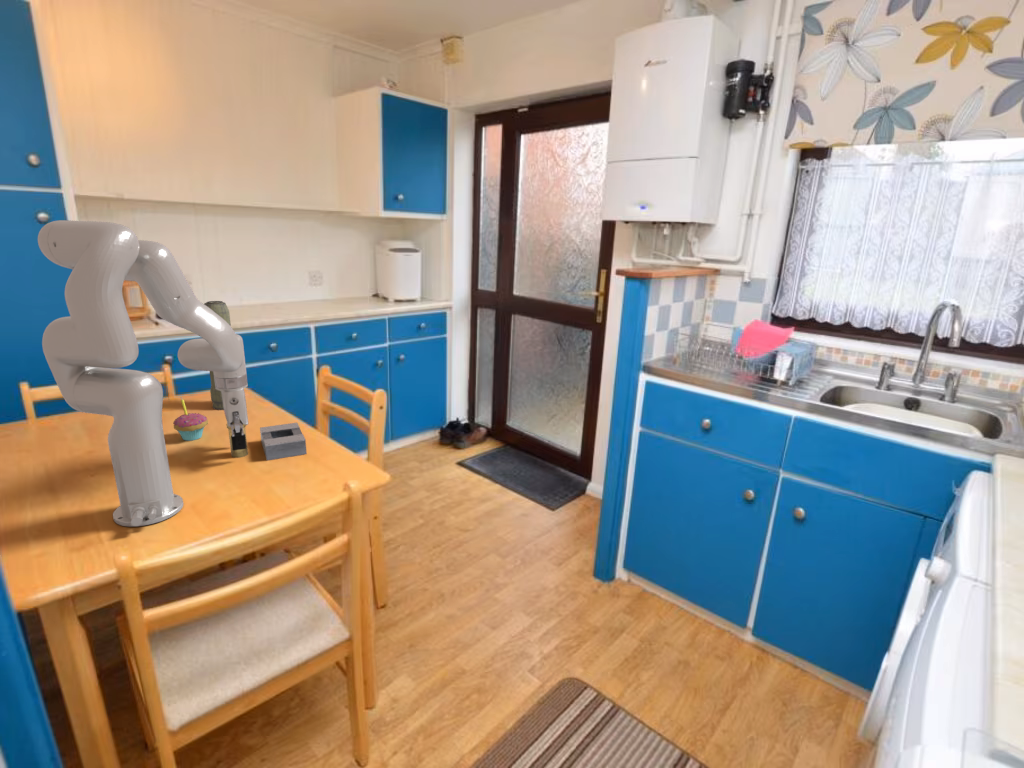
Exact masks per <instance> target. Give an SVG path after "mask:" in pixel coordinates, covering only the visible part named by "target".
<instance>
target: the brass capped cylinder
mask: <svg viewBox="0 0 1024 768" xmlns="http://www.w3.org/2000/svg"><path fill="white" fill-rule="evenodd" d="M240 423H241V421H240ZM232 424H234V423H232ZM225 425H226V429H227V430H228V439H229V445H230V454H231V457H232V458H235V459H236V458H237V459H238V458H243V457H246V456H248V454H249V452H248V451H249V450H248V449H249V448H248V440H247V433H246V431H247V430H246V427H247V425H246V424H245V425H244V424H243V431H244V434H245V439H246V449H241V450H233V448H232V440H231V436H232V431H231V427H229V426H228V424H227V423H226V424H225ZM240 428H241V427H240Z"/></svg>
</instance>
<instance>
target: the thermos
mask: <svg viewBox="0 0 1024 768" xmlns="http://www.w3.org/2000/svg"><path fill="white" fill-rule="evenodd" d="M203 304H204V305H206V306H207V307H209V308H210V309H211V310H213V311H214V312H215V313H216V314H218V315H219V316H220V317H221V318H223V319H224V320H225V321H226V322H227V323H228V324H229V325H230V326H231V327H232V325H231V315H230V310H229V307H228V306H227V304H226V302H225V301H224V302H223V300H222V301H221V300H211V301H206V302H204V303H203ZM209 377H210V389H209V390H210V391H209V393H210V398H211V399H210V400H211V402H212V408H213V409H214V410H218V411H224V407H223V401H222V394H221V391H219V390H216V389H215V381H214V373H213V371H209Z"/></svg>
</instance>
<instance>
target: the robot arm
mask: <svg viewBox="0 0 1024 768" xmlns="http://www.w3.org/2000/svg"><path fill="white" fill-rule="evenodd" d="M37 243H38V244H37V245H38V247H39V250H40V251H41V253H42V255H44V257H46V258H47V259H48V260H49V261H50V262H52V263H53V264H55V265H57V266H60V267H62V268H66V269H70V270H72V271H71V272H70V275H69V276H68V279H67V281H66V283H65V287H64V300H65V304H66V307H67V310H68V313H69V316H62V317H58V318H56V319H54V320H52V321H51V322H49V323H48V325H47V326H46V327H45V329H44V331H43V334H42V340H41V345H42V352H43V354H44V356H45V360H46V362H47V364H48V367H49V369H50V371H51V373H52V376H53V378H54V381H55V382H56V385H57V388H58V390H59V391H60V393H61V396H62V397H63V399H64V400H65V402H66V404H68V406H69V407H70V408H72V409H73V410H75V411H77V412H81V413H86V414H94V415H101V416H104V415H105V416H109V417H113V422H112V425H111V426H110V428H109V432H108V433H107V445H108V449H109V454H110V459H111V465H112V469H113V475H114V478H115V486H116V489H117V495H118V499H119V506H118V507H117V508H116V509H115V510H114V511H113V512H112V519H113V521H114V522H115V523H116V524H117V525H118V526H122V527H143V526H149V525H153V524H157V523H160V522H162V521H166V520H167V519H169V518H172V517H173V516H175V515H177V513H179V512H180V511H181V510H182V509H183V507H184V499H183V497H181V496H180V495H179V494H176V493H174V489H173V484H172V477H171V471H170V470H171V469H170V464H169V458H168V452H167V446H166V440H165V435H164V427H163V401H164V389H163V386H162V384H161V382H160V381H159V379H157V377H155V376H154V375H152V374H150V373H149V372H148V373H147V372H145V371H142V370H136V369H126V368H124V367H128V366H130V365H132V364H134V362H135V361H137V358H138V357H139V352H140V350H139V344H138V340H137V339H138V338H137V337H136V333H135V330H134V328H133V325H132V321H131V319H130V316H129V312H128V311H127V307H126V304H125V300H124V296H123V295H124V294H123V287H124V282H125V281H131V282H135V283H137V284H138V286H139V287H140V289H141V290H142V293H144V295H145V297H146V298H147V300H148V301H149V303H150V305H151V306H152V308H153V309H154V311H155V313H156V315H157V316H158V317H159V318H161V319H163V320H164V321H166V322H168V323H170V324H172V325H174V326H176V327H179V328H181V329H184V330H186V331H189V332H191V333H193V334H195V335H197V336H199V337H200V338H194V339H193V338H192V339H189V340H187V341H185V342H183V343H182V344H181V345H180V346H179V348H178V351H177V358H178V361H179V363H180V364H181V366H183V367H184V368H187V369H189V370H193V371H204V372H210V371H213V373H214V381H215V389H216V390H219V391H221V394H222V401H223V407H224V410H223V412H224V416H225V421H226V424H228V426H229V427H231V431H232V436H231V440H232V448H233V450H241V449H246V440H247V438H246V439H245V434H244V431H243V424H244V425H245V424H246V426H248V425H249V417H248V410H247V409H248V408H247V407H248V406H247V400H246V392H245V389H246V388H247V387H248V386H249V385H248V375H247V365H246V357H245V349H244V348H245V347H244V340H243V337H242V336H241V335H240V334H237V333H235V330H234V329H233V328H232V325H231V326H230V325H229V324H228V323H227V322H226V321H225V320H224V319H223V318H221V317H220V316H219V315H218V314H216V313H215V312H214V311H213V310H211V309H210V308H209V307H207V306H206V305H204V303H203V302H202V301H200V300H199V299H198V298H197V296H196V295H195V292H194V291H193V289H192V287H191V285H190V283H189V282H188V280H187V277H186V276H185V275H184V273H183V270H182V269H181V267H180V266H179V263H178V262H177V260H176V258H175V256H174V255H173V253H172V252H171V250H170V249H169V248H168V247H167V246H166V245H164V244H163V243H160V242H158V241H153V240H143V239H142V240H141V239H139V238H138V236H137V234H136V233H135V232H134V230H133V229H131V228H130V227H128V226H126V225H123V224H120V223H115V222H110V221H109V222H108V221H96V220H95V221H93V220H90V221H89V220H87V221H86V220H69V219H68V220H63V219H62V220H61V219H60V220H53V221H51V222H47V223H46V224H45V225H43V226H42V227H41V229H40V230H39V232H38V235H37ZM240 421H241V423H240ZM232 423H234V424H232ZM240 427H241V428H240Z"/></svg>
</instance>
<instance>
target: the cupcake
mask: <svg viewBox="0 0 1024 768" xmlns="http://www.w3.org/2000/svg"><path fill="white" fill-rule="evenodd" d="M180 398H181V400H180V402H181V405H182V409H183V412H184V413H183V414H182V415H179V416H178V417H176V418H175V420H174V421H173V422H172V423H173V429H174V430H176V431H177V432H178V433H179V435H180V437H181V438H182V440H184V441H187V442H192V441H196V440H199V439H201V438H202V437H203V432H204V429H205V427H206V426H208V425H209V419H208V418H207V416H205V415H204V414H203V415H202V414H201V413H199V412H198V413H196V412H195V413H193V412H191V413H188V411H187V406H186V404H185V400H184V399H183V398H182V397H180Z"/></svg>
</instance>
